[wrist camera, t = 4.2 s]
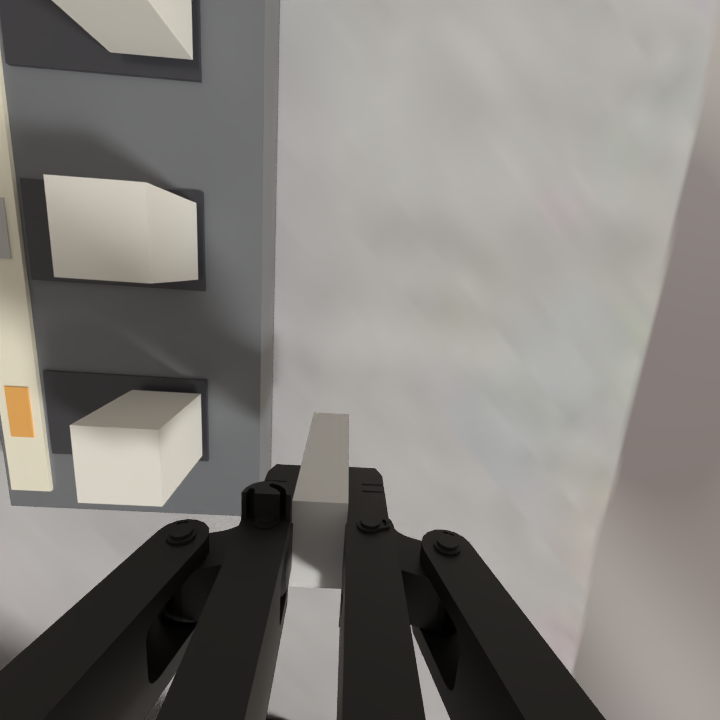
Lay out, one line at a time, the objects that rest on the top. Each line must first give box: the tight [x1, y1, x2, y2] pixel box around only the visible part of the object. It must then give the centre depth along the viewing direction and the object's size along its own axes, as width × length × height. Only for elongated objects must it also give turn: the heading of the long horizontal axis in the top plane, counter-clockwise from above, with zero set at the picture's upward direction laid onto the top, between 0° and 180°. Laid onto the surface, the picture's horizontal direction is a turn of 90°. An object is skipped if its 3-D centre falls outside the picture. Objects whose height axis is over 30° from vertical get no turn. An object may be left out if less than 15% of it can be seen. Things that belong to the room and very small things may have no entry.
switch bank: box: [0, 0, 280, 516], centre depth 18 cm, size 26×12×3 cm, turn 176°
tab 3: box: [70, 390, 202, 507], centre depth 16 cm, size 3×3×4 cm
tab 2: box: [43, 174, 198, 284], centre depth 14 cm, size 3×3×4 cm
